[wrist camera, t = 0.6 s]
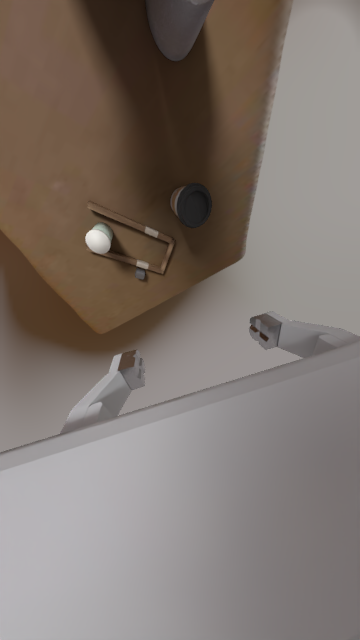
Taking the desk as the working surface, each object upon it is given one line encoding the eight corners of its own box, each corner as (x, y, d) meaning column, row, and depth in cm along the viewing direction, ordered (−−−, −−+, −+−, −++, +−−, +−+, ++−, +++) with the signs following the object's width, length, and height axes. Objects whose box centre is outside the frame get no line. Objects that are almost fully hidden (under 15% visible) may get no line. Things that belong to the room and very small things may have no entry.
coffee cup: (184, 174, 39) (203, 171, 29) (198, 205, 45) (219, 212, 34) (161, 197, 41) (171, 203, 31) (177, 225, 47) (191, 237, 36)
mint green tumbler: (94, 217, 41) (86, 225, 33) (114, 226, 43) (111, 235, 35) (93, 237, 44) (85, 249, 36) (112, 244, 46) (108, 256, 38)
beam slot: (89, 200, 38) (87, 201, 36) (174, 238, 49) (176, 240, 47) (87, 260, 47) (85, 263, 45) (158, 280, 58) (159, 284, 56)
